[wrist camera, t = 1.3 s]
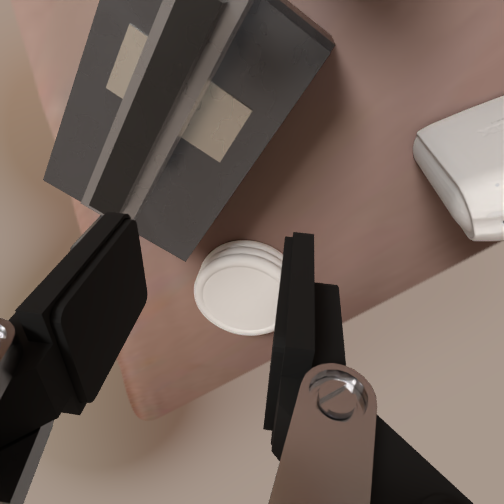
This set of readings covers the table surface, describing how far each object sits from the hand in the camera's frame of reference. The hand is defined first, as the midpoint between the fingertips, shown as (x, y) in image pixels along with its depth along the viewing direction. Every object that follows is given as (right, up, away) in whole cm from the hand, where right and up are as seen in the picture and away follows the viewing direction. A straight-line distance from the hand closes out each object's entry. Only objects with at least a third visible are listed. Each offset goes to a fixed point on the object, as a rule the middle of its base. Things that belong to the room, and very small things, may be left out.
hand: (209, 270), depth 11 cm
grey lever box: (-4, +12, +18) cm, 22 cm away
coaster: (+1, -2, +28) cm, 28 cm away
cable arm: (-3, +8, +9) cm, 13 cm away
